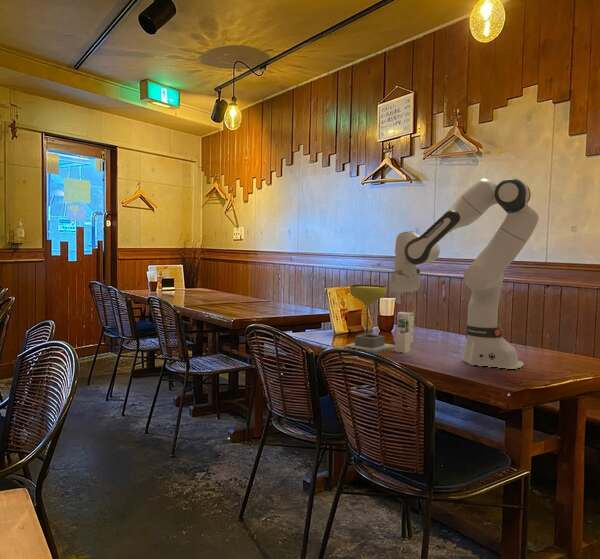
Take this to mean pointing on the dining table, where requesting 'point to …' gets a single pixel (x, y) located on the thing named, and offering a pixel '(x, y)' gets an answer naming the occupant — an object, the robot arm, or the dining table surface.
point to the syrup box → (406, 323)
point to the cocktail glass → (367, 296)
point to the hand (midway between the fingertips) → (403, 302)
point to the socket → (370, 343)
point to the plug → (402, 342)
